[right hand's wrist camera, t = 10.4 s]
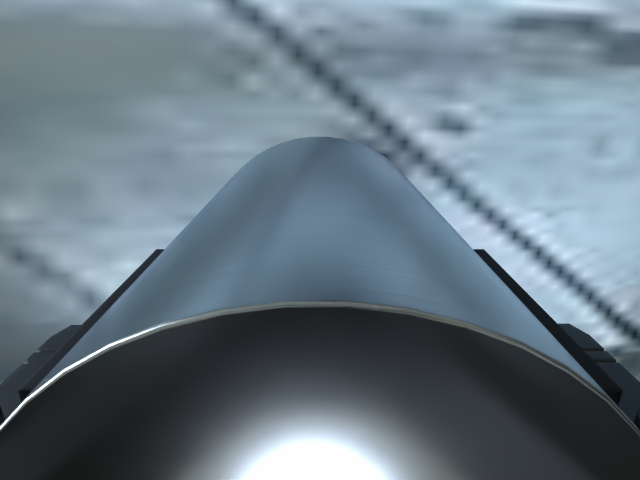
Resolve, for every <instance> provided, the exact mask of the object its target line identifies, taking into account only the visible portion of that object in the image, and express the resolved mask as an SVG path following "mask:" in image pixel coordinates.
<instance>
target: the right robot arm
mask: <svg viewBox="0 0 640 480" xmlns="http://www.w3.org/2000/svg"><path fill="white" fill-rule="evenodd" d="M164 250H165V249H156V250H155V251H154V252H153V254H152V255H151V256H150V257H149V258H148V259H147V260H146V261H145V262H144V263H143V264H142V265H141V266H140V267H139V268H138V269H137V270H136V271H135V272H134V273H133V274H132V275H131V276H130V277H129V278H128V279H127V280H126V281H125V282H124V283H123V284H122V285H121V286H120V287H119V288H118V289H117V290H116V291H115V292H114V293H113V294H112V295H111V296H110V297H109V298H108V299H107V300H106V301H105V302H104V303H103V304H102V305H101V306H100V307H99V308H98V309H97V310H96V311H95V312H94V313H93V314H92V315H91V316H90V317H89V318H88V319H87V320H86V321H85V322H84V323H83V324H82V325H71V326H69V327H67V328H66V329H64V330H62V331H60V332H59V333H57V334H55V335H53V336H52V337H50V338H49V339H48V340H47V341H46V342H45V343H44V344H43V345H42V346H41V347H40V348H39V349H38V350H37V353H33V354H32V355H31V356H30V357H29V358H28V359H27V360H26V361H25V364H22V365H21V366H20V367H19V368H17V369H16V370H15V371H14V372H13V373H12V374H11V375H10V376H9V377H8V378H7V379H6V380H5V381H4V382H3V383H1V384H0V425H1V424H2V423H3V422H4V420H5V419H6V418H7V417H8V416H9V415H10V414H11V413H12V412H13V411H14V410H15V409H16V407H17V406H18V405H19V404H20V403H21V402H22V401H23V400H24V399H25V398H26V397H27V396H28V395H29V393H30V392H31V391H32V390H33V389H34V388H35V387H36V386H37V385H38V384H39V383H40V382H41V381H42V380H43V379H44V377H45V376H46V375H47V374H48V373H49V372H50V371H51V370H52V369H53V368H54V367H55V366H56V365H57V364H58V363H59V362H60V360H61V359H62V358H63V357H64V356H65V355H66V354H67V353H68V352H69V351H70V350H71V349H72V348H73V347H74V346H75V344H76V343H77V342H78V341H79V340H80V339H81V338H82V337H83V336H84V335H85V334H86V333H87V332H88V331H89V330H90V328H91V327H92V326H93V325H94V324H95V323H96V322H97V321H98V320H99V319H100V318H101V317H102V316H103V315H104V314H105V313H106V311H107V310H108V309H109V308H110V307H111V306H112V305H113V304H114V303H115V302H116V301H117V300H118V299H119V298H120V297H121V295H122V294H123V293H124V292H125V291H126V290H127V289H128V288H129V287H130V286H131V285H132V284H133V283H134V282H135V281H136V280H137V278H138V277H139V276H140V275H141V274H142V273H143V272H144V271H145V270H146V269H147V268H148V267H149V266H150V265H151V264H152V262H153V261H154V260H155V259H156V258H157V257H158V256H159V255H160V254H161V253H162V252H163V251H164ZM473 250H474V251H475V252H476V253H477V254H478V255H479V256H480V258H481V259H482V260H483V261H484V262H485V263H486V264H487V265H488V266H489V267H490V268H491V269H492V271H493V272H494V273H495V274H496V275H497V276H498V277H499V278H500V279H501V280H502V281H503V282H504V284H505V285H506V286H507V287H508V288H509V289H510V290H511V291H512V292H513V293H514V294H515V295H516V296H517V298H518V299H519V300H520V301H521V302H522V303H523V304H524V305H525V306H526V307H527V308H528V309H529V311H530V312H531V313H532V314H533V315H534V316H535V317H536V318H537V319H538V320H539V321H540V322H541V324H542V325H543V326H544V327H545V328H546V329H547V330H548V331H549V332H550V333H551V334H552V335H553V336H554V338H555V339H556V340H557V341H558V342H559V343H560V344H561V345H562V346H563V347H564V348H565V349H566V351H567V352H568V353H569V354H570V355H571V356H572V357H573V358H574V359H575V360H576V361H577V362H578V364H579V365H580V366H581V367H582V368H583V369H584V370H585V371H586V372H587V373H588V374H589V375H590V376H591V378H592V379H593V380H594V381H595V382H596V383H597V384H598V385H599V386H600V387H601V388H602V389H603V391H604V392H605V393H606V394H607V395H608V396H609V397H610V398H611V399H612V400H613V401H614V402H615V404H616V405H617V406H618V407H619V408H620V409H621V410H622V411H623V412H624V413H625V414H626V415H627V416H628V418H629V419H630V420H631V421H632V422H633V423H634V424H635V425H636V426H637V428H638V429H639V431H640V382H639V381H638V380H637V379H636V378H635V377H634V376H633V375H631V374H630V373H629V372H628V371H627V370H626V369H625V368H624V367H623V366H622V365H621V364H620V363H616V360H615V359H614V358H613V357H612V356H611V355H610V354H609V353H608V352H607V351H604V348H603V347H601V346H600V345H599V344H598V343H597V342H596V341H595V340H594V339H593V338H592V337H591V336H590V335H588V334H586V333H585V332H583V331H581V330H579V329H577V328H576V327H574V326H572V325H570V324H557V323H556V322H555V321H554V320H553V319H552V318H551V317H550V316H549V315H548V314H547V313H546V312H545V311H544V310H543V309H542V308H541V307H540V306H539V305H538V304H537V303H536V302H535V301H534V300H533V299H532V298H531V297H530V296H529V295H528V294H527V293H526V292H525V291H524V290H523V289H522V288H521V287H520V286H519V285H518V284H517V283H516V282H515V281H514V280H513V279H512V277H511V276H510V275H509V274H508V273H507V272H506V271H505V270H504V269H503V268H502V267H501V266H500V265H499V264H498V263H497V262H496V261H495V260H494V259H493V258H492V257H491V256H490V255H489V254H488V253H487V252H486V251H485V250H484V249H473Z"/></svg>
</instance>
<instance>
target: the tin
mask: <svg viewBox="0 0 640 480" xmlns="http://www.w3.org/2000/svg"><path fill="white" fill-rule="evenodd" d="M0 480H640V431H639V429H638V428H637V426H636V425H635V424H634V423H633V422H632V421H631V420H630V419H629V418H628V416H627V415H626V414H625V413H624V412H623V411H622V410H621V409H620V408H619V407H618V406H617V405H616V404H615V402H614V401H613V400H612V399H611V398H610V397H609V396H608V395H607V394H606V393H605V392H604V391H603V389H602V388H601V387H600V386H599V385H598V384H597V383H596V382H595V381H594V380H593V379H592V378H591V376H590V375H589V374H588V373H587V372H586V371H585V370H584V369H583V368H582V367H581V366H580V365H579V364H578V362H577V361H576V360H575V359H574V358H573V357H572V356H571V355H570V354H569V353H568V352H567V351H566V349H565V348H564V347H563V346H562V345H561V344H560V343H559V342H558V341H557V340H556V339H555V338H554V336H553V335H552V334H551V333H550V332H549V331H548V330H547V329H546V328H545V327H544V326H543V325H542V324H541V322H540V321H539V320H538V319H537V318H536V317H535V316H534V315H533V314H532V313H531V312H530V311H529V309H528V308H527V307H526V306H525V305H524V304H523V303H522V302H521V301H520V300H519V299H518V298H517V296H516V295H515V294H514V293H513V292H512V291H511V290H510V289H509V288H508V287H507V286H506V285H505V284H504V282H503V281H502V280H501V279H500V278H499V277H498V276H497V275H496V274H495V273H494V272H493V271H492V269H491V268H490V267H489V266H488V265H487V264H486V263H485V262H484V261H483V260H482V259H481V258H480V256H479V255H478V254H477V253H476V252H475V251H474V250H473V249H472V248H471V247H470V246H469V245H468V244H467V242H466V241H465V240H464V239H463V238H462V237H461V236H460V235H459V234H458V233H457V232H456V231H455V229H454V228H453V227H452V226H451V225H450V224H449V223H448V222H447V221H446V220H445V219H444V218H443V216H442V215H441V214H440V213H439V212H438V211H437V210H436V209H435V208H434V207H433V206H432V205H431V204H430V202H429V201H428V200H427V199H426V198H425V197H424V196H423V195H422V194H421V193H420V192H419V191H418V189H417V188H416V187H415V186H414V185H413V184H412V183H411V182H410V181H409V180H408V179H407V178H406V176H405V175H404V174H403V173H402V172H401V171H400V170H399V169H398V168H397V167H396V166H395V165H394V164H393V163H391V162H390V161H389V160H388V159H386V158H385V157H384V156H382V155H380V154H379V153H377V152H375V151H374V150H372V149H370V148H368V147H365V146H363V145H361V144H358V143H355V142H352V141H348V140H344V139H339V138H332V137H307V138H300V139H294V140H291V141H287V142H284V143H280V144H278V145H276V146H273V147H271V148H269V149H267V150H265V151H263V152H262V153H260V154H258V155H257V156H255V157H254V158H252V159H251V160H250V161H249V162H248V163H246V164H245V165H244V166H243V167H242V168H241V169H240V170H239V171H238V172H237V173H236V174H235V175H234V176H233V177H232V178H231V179H230V180H229V182H228V183H227V184H226V185H225V186H224V187H223V188H222V189H221V190H220V191H219V192H218V193H217V194H216V195H215V196H214V198H213V199H212V200H211V201H210V202H209V203H208V204H207V205H206V206H205V207H204V208H203V209H202V210H201V211H200V212H199V214H198V215H197V216H196V217H195V218H194V219H193V220H192V221H191V222H190V223H189V224H188V225H187V226H186V227H185V228H184V229H183V231H182V232H181V233H180V234H179V235H178V236H177V237H176V238H175V239H174V240H173V241H172V242H171V243H170V244H169V245H168V247H167V248H166V249H165V250H164V251H163V252H162V253H161V254H160V255H159V256H158V257H157V258H156V259H155V260H154V261H153V262H152V264H151V265H150V266H149V267H148V268H147V269H146V270H145V271H144V272H143V273H142V274H141V275H140V276H139V277H138V278H137V280H136V281H135V282H134V283H133V284H132V285H131V286H130V287H129V288H128V289H127V290H126V291H125V292H124V293H123V294H122V295H121V297H120V298H119V299H118V300H117V301H116V302H115V303H114V304H113V305H112V306H111V307H110V308H109V309H108V310H107V311H106V313H105V314H104V315H103V316H102V317H101V318H100V319H99V320H98V321H97V322H96V323H95V324H94V325H93V326H92V327H91V328H90V330H89V331H88V332H87V333H86V334H85V335H84V336H83V337H82V338H81V339H80V340H79V341H78V342H77V343H76V344H75V346H74V347H73V348H72V349H71V350H70V351H69V352H68V353H67V354H66V355H65V356H64V357H63V358H62V359H61V360H60V362H59V363H58V364H57V365H56V366H55V367H54V368H53V369H52V370H51V371H50V372H49V373H48V374H47V375H46V376H45V377H44V379H43V380H42V381H41V382H40V383H39V384H38V385H37V386H36V387H35V388H34V389H33V390H32V391H31V392H30V393H29V395H28V396H27V397H26V398H25V399H24V400H23V401H22V402H21V403H20V404H19V405H18V406H17V407H16V409H15V410H14V411H13V412H12V413H11V414H10V415H9V416H8V417H7V418H6V419H5V420H4V422H3V423H2V424H1V425H0Z"/></svg>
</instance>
